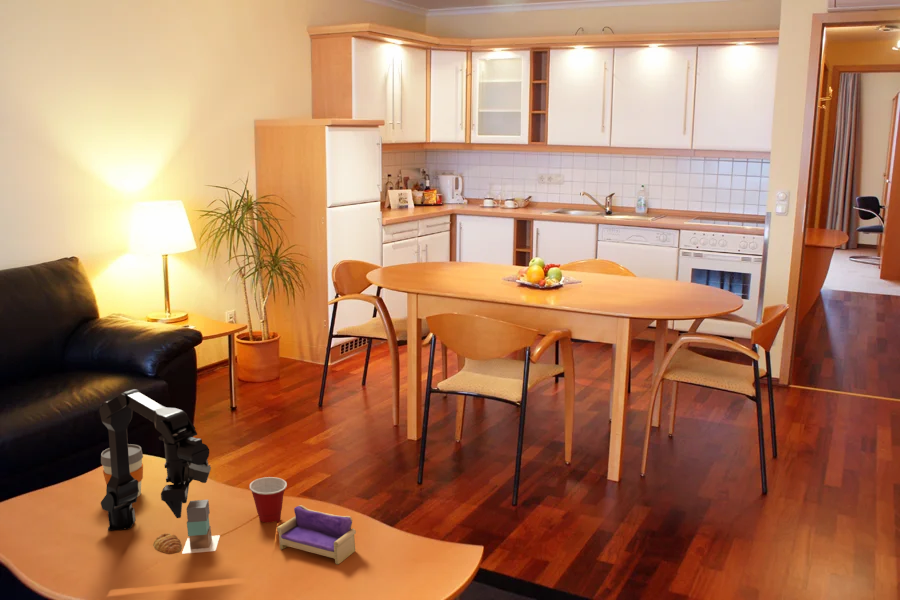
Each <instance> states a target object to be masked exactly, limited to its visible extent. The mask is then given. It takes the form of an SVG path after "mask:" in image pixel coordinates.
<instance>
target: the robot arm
mask: <svg viewBox="0 0 900 600" xmlns="http://www.w3.org/2000/svg"><path fill="white" fill-rule="evenodd" d="M98 411H99V415H100V419H101V423H102V424H103V425H104V426H105V427H106V428H107V431H108V442H109V444H108V445H109V448H110V460H111V473H112V476H111V478H110V480H109V482H108V484H107V485H106V488H105V489H106V490H105V491H106V492H105V496H104V497H103V498H102V500H101V501H100V506H101V509H102V510H103V511H105V512H107V515H108V517H107V518H108V524H109V525H108V527H107V531H119V530H120V531H121V530H130V529H131V528H132V527H133V525H134V524H135V521H136V512H135V507H133V504H134V503H137V501H138V497H139V496H138V492H139V489H138V481H137V480H136V479H134V478H133V477H132V476H131V474H130V467H129V453H128V444H129V443H128V442H129V441H128V427H129V424H130V422H131V420H132V419H133V412H136V413H137V414H139V415H141V416H142V417H144V418H145V419H147V420H149V421H150V422H152V423H153V424H154V428H155V430H157V432H159V433H160V434H161V435H160V436H159V437H158V439H159V441H163V444H164V445H163V447H164V456H165V462H164V469H166V475H167V476H166V478H165V482H166V483H170V484H166V485H164V486H163V488H162V490H161V493H160V499H161V501H162V502H164V503H165V504H166V505H167V506H168V508H169V509H170V510H171V512H172V513H173V515H174V517H175V518H176V519H180V518H182V511H183V509H182V508H183V504H187V502H188V495H189V489H190V484H191V483H192V481H197V482H199V483H202V484H206V483H207V482H208V478H209V476H210V472H211V470H212V467H211V464H209V462H208V459H209V457H210V448H209V446H208V445H207V444H205V443H203V439H202V438H198V437H195V436H198V432H197V430H196V426H195V424H193V423H192V421H191V419H190V418H189V416H188V414H187V412H185V411H184V410H182V409H179V408H176V407H166V406H164V405H162V404H160V403H158V402H156V401H155V400H153V399H151V398H150V397H148V396H146V395H145V394H143V393H141V391H140V390H139V389H135V388H134V389H130V390H126V391H124V392H121V393H120V394H119V395H117V396H116V397H114V398H112V399H110V400H109V399H108V400H106V401H104V402H102V403H101V404H100V406H99V409H98ZM183 431H184V432H183ZM137 496H138V497H137Z"/></svg>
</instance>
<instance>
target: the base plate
mask: <svg viewBox="0 0 900 600" xmlns="http://www.w3.org/2000/svg"><path fill="white" fill-rule="evenodd" d="M211 536H212V540H211V543H210V547H209V548H201V549H190V539H189V537H187V539H186V541H185V542H184V543H185V544H184V546H183V548H182V550H181V554H182V555H184V554H185V555H186V554H194V553H206V552H216V550H217V549H218V544H219V540H220V537H221V535H219V534H218V535H217V534H216V535H211Z"/></svg>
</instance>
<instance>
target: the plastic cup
mask: <svg viewBox="0 0 900 600" xmlns="http://www.w3.org/2000/svg"><path fill="white" fill-rule="evenodd" d="M287 485H288V484H287V481H286V480H284V479H283V478H280V477H276V476H275V477H273V476H268V477H267V476H266V477H265V476H264V477H260V478H256V479H254V480H253V481H251V482H250V483H249V490H250V492H251V494H252V497H253V500H254V504H255V509H256V512H257V515H258V516H257V517H258V518H259V521H260V522H261V523H273V522H276V524H279V523H280V521H281V518H282V517H281V516H282V511H283V510H282V509H283V501H284V494H285V490H286V488H287V487H288V486H287Z"/></svg>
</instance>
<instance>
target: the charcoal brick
mask: <svg viewBox="0 0 900 600" xmlns="http://www.w3.org/2000/svg"><path fill="white" fill-rule="evenodd" d="M210 512H211V511H210V504H209V499H197V500H190V501H189V503H188V504H187V507H186V518H187V521H188V522H199V521H207V518H208V516H209V517H210Z"/></svg>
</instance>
